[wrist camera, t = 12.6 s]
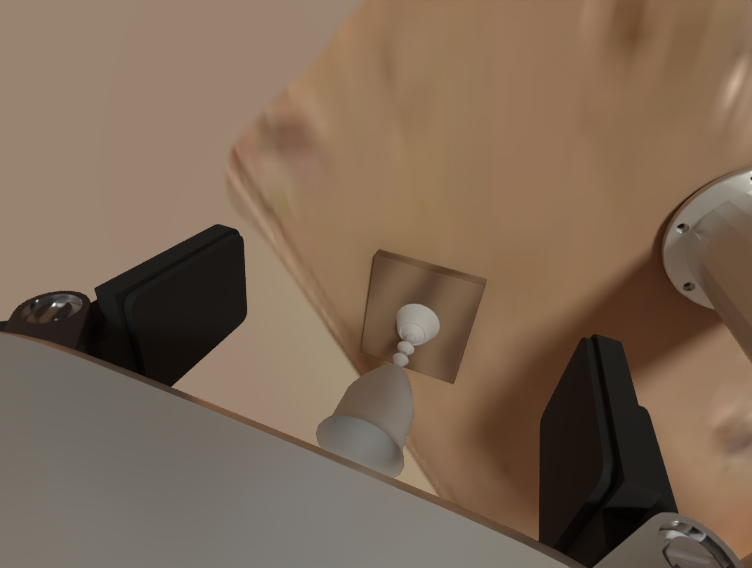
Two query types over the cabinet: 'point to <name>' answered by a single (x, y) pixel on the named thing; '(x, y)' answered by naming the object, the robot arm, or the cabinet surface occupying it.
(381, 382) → the chalice
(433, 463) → the cabinet surface
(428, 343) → the walnut board
